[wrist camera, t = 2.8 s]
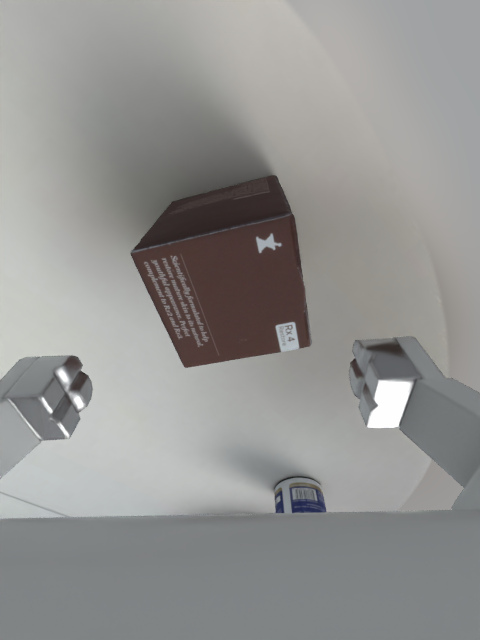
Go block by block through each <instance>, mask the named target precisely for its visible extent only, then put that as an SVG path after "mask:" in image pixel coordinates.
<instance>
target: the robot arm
mask: <svg viewBox="0 0 480 640" xmlns="http://www.w3.org/2000/svg"><path fill="white" fill-rule="evenodd" d="M352 352H353V354H354V356H355V359H354V360H353V361H352V362H351V363H350V369H349V378H350V384H351V388H352V391H353V394H354V395H355V396H356V397H357V398H359V399H360V404H359V410H360V412H361V415H362V417H363V420H364V422H365V425H366V427H367V428H399V429H400V430H401V431H402V432H403V433H404V434H405V435H406V436H407V437H408V438H410V439H411V440H412V441H413V442H414V443H415V444H416V445H417V446H418V447H420V448H421V449H422V450H423V451H424V452H425V453H426V454H427V455H428V456H429V457H431V458H432V459H433V460H434V461H435V462H436V463H437V464H438V465H439V466H440V467H442V468H443V469H444V470H445V471H446V472H447V473H448V474H449V475H451V476H452V477H453V478H454V479H455V480H456V481H457V482H458V483H459V484H460V485H461V486H463V487H464V489H463V490H462V492H461V493H460V495H459V496H458V498H457V499H456V501H455V502H454V504H453V506H452V510H431V511H430V510H429V511H377V512H322V513H267V514H212V515H159V516H107V517H56V518H4V519H0V640H480V393H479V392H477V391H475V390H473V389H472V388H470V387H468V386H466V385H464V384H462V383H460V382H458V381H457V380H455V379H453V378H445V376H444V375H443V374H442V372H441V371H440V370H439V368H438V367H437V366H436V365H435V363H434V362H433V361H432V359H431V358H430V357H429V355H428V354H427V353H426V351H425V350H424V349H423V347H422V346H421V345H420V343H419V342H418V341H417V340H416V338H414V337H412V336H406V337H393V338H383V339H366V340H355V342H354V345H353V350H352ZM82 366H83V365H82V363H81V361H80V360H79V358H78V357H76V356H42V357H25V358H23V359H20V360H19V361H18V362H17V363H16V364H15V365H14V366H13V367H12V368H11V369H10V370H9V371H8V373H7V374H6V375H5V376H4V377H3V378H2V379H1V380H0V479H1V478H2V477H3V476H4V475H5V474H6V473H7V472H9V471H10V470H11V469H12V468H13V467H14V466H15V465H16V464H17V463H18V462H20V461H21V460H22V459H23V458H24V457H25V456H26V455H27V454H28V453H30V452H31V451H32V450H33V449H34V448H35V447H36V446H37V445H38V444H39V443H41V441H42V440H57V439H70V437H71V435H72V433H73V431H74V430H75V428H76V426H77V424H78V422H79V420H80V416H79V412H80V411H82V410H83V409H84V408H86V407H87V406H88V404H89V402H90V400H91V396H92V390H93V388H92V383H91V380H90V378H89V376H88V375H86V374H85V373H83V372H82V371H81V369H82Z"/></svg>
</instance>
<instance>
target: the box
mask: <svg viewBox="0 0 480 640" xmlns="http://www.w3.org/2000/svg"><path fill="white" fill-rule="evenodd" d="M131 256H132V258H133V260H134V263H135V265H136V267H137V269H138V271H139V273H140V275H141V278H142V280H143V282H144V284H145V286H146V289H147V291H148V293H149V295H150V297H151V299H152V301H153V303H154V305H155V307H156V309H157V311H158V313H159V315H160V317H161V320H162V322H163V324H164V326H165V328H166V330H167V332H168V334H169V336H170V338H171V340H172V343H173V345H174V347H175V349H176V351H177V353H178V355H179V357H180V359H181V361H182V363H183V365H184V367H186V368H188V367H194V366H200V365H206V364H211V363H218V362H223V361H229V360H235V359H241V358H246V357H252V356H259V355H265V354H272V353H278V352H285V351H290V350H295V349H300V348H304V347H309V346H311V344H312V340H311V334H310V326H309V320H308V312H307V305H306V296H305V286H304V281H303V275H302V269H301V260H300V254H299V246H298V237H297V230H296V224H295V218H294V215H293V214H292V212H291V209H290V206H289V204H288V201H287V199H286V196H285V194H284V191H283V189H282V187H281V185H280V183H279V181H278V178H277V177H276V176H275V175H271V176H268V177H264V178H260V179H256V180H252V181H249V182H245V183H241V184H237V185H234V186H230V187H226V188H222V189H219V190H215V191H211V192H207V193H203V194H199V195H196V196H192V197H188V198H185V199H181V200H177V201H173V202H172V203H171V204H170V205H169V207H168V208H167V209H166V210H165V211H164V213H163V214H162V215H161V216H160V217H159V218H158V220H157V221H156V222H155V223H154V225H153V226H152V227H151V228H150V230H149V231H148V232H147V233H146V234H145V236H144V237H143V238H142V239H141V241H140V243H139V244H138V245H137V246H136V247H135V248H134V249H133V250H132V251H131Z"/></svg>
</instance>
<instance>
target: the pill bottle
mask: <svg viewBox="0 0 480 640" xmlns="http://www.w3.org/2000/svg"><path fill="white" fill-rule="evenodd" d="M275 508H276V513H322V512H326V507H325V502H324V497H323V492H322V488H321V486H320V485H319V484H318V483H317V482H316V481H314V480H311V479H308V478H299V477H298V478H291V479H287V480H284V481H282V482H281V483H279V484H278V485H277V486H276V488H275Z"/></svg>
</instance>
